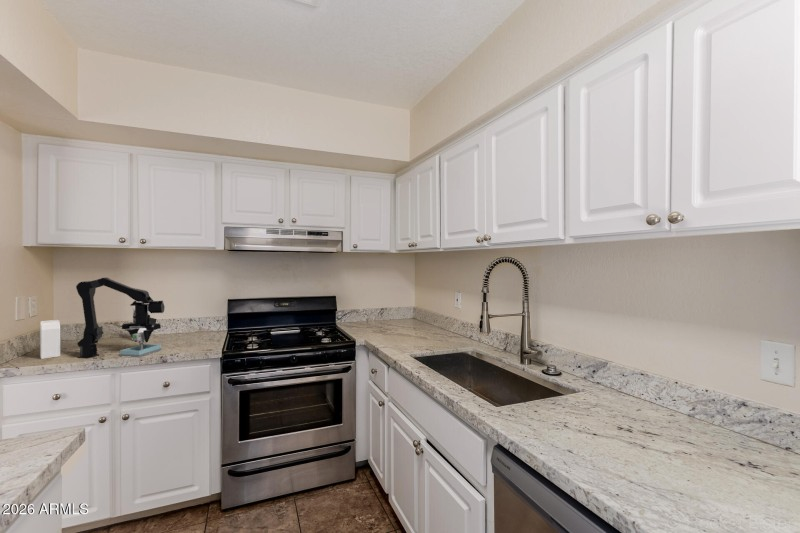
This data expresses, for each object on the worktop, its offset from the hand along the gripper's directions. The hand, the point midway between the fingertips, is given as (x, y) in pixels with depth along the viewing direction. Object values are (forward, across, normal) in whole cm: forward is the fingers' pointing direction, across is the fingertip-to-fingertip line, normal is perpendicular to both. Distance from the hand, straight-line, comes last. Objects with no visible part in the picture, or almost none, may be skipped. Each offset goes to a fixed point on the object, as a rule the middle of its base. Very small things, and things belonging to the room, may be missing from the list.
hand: (141, 342), depth 196 cm
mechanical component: (+5, 0, 0) cm, 5 cm away
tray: (+6, 0, 0) cm, 6 cm away
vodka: (+6, +28, -31) cm, 43 cm away
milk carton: (+6, +40, +13) cm, 43 cm away
